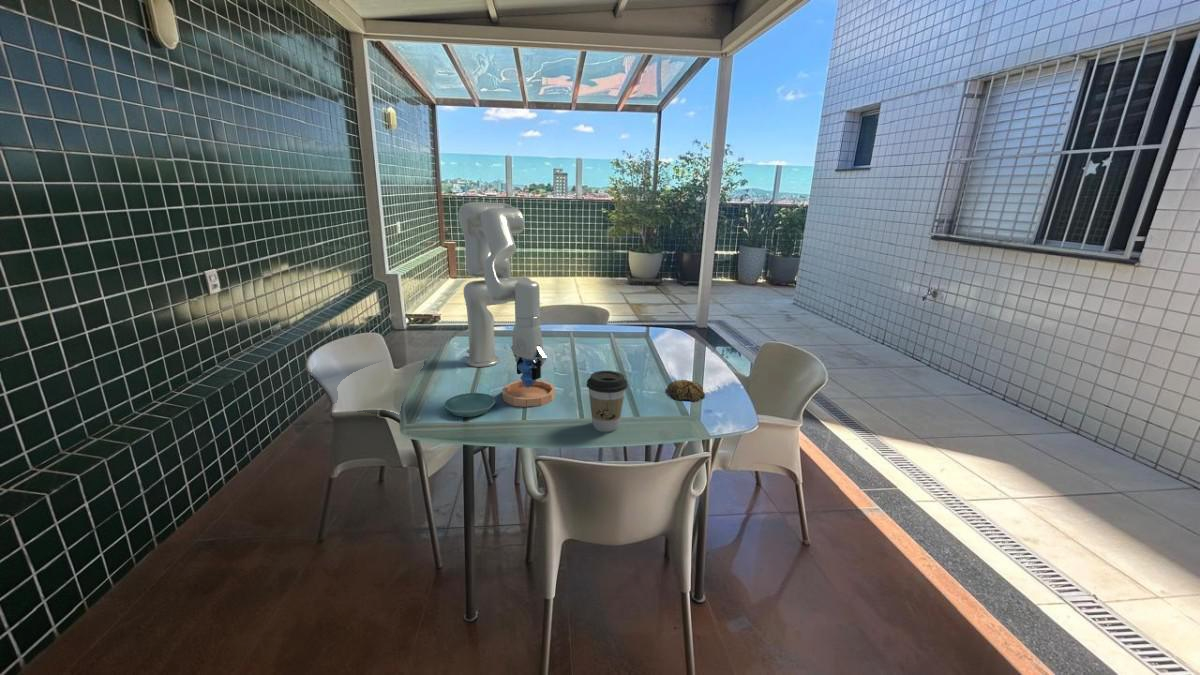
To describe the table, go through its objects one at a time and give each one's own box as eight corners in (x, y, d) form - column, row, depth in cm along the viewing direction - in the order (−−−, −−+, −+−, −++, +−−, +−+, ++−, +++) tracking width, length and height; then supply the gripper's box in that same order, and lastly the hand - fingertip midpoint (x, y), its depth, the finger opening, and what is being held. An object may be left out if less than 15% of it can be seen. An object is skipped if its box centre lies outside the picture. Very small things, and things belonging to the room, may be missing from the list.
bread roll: (665, 387, 167) (666, 373, 166) (701, 388, 167) (702, 374, 166) (670, 402, 155) (671, 387, 153) (709, 402, 155) (710, 388, 153)
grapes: (525, 378, 161) (523, 343, 158) (544, 379, 160) (542, 344, 156) (511, 390, 150) (508, 354, 147) (531, 392, 149) (529, 354, 145)
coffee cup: (586, 435, 131) (587, 383, 127) (585, 417, 142) (586, 369, 138) (628, 435, 131) (630, 383, 127) (624, 417, 142) (625, 369, 138)
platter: (492, 396, 155) (492, 388, 155) (532, 383, 167) (532, 376, 166) (525, 411, 145) (525, 403, 144) (565, 396, 156) (565, 389, 156)
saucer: (505, 405, 149) (505, 397, 148) (475, 424, 136) (474, 416, 135) (466, 397, 155) (466, 389, 154) (434, 414, 142) (433, 406, 141)
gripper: (500, 318, 152) (502, 372, 157) (536, 328, 141) (537, 386, 146) (519, 314, 157) (520, 366, 162) (555, 324, 146) (556, 380, 151)
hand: (528, 375), depth 154 cm, fingers closed on grapes, 6 cm apart
